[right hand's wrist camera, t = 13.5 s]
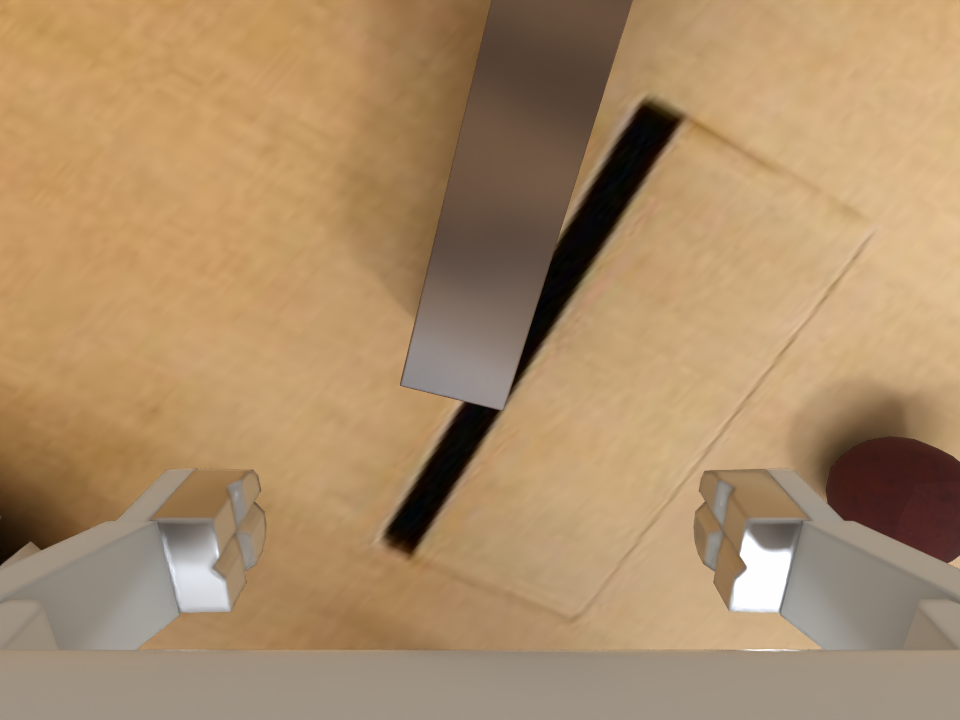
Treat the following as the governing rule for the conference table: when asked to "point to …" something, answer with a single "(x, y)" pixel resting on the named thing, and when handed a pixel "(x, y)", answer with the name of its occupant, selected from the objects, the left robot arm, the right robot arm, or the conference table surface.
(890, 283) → the conference table surface
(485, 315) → the bar
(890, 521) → the potato
